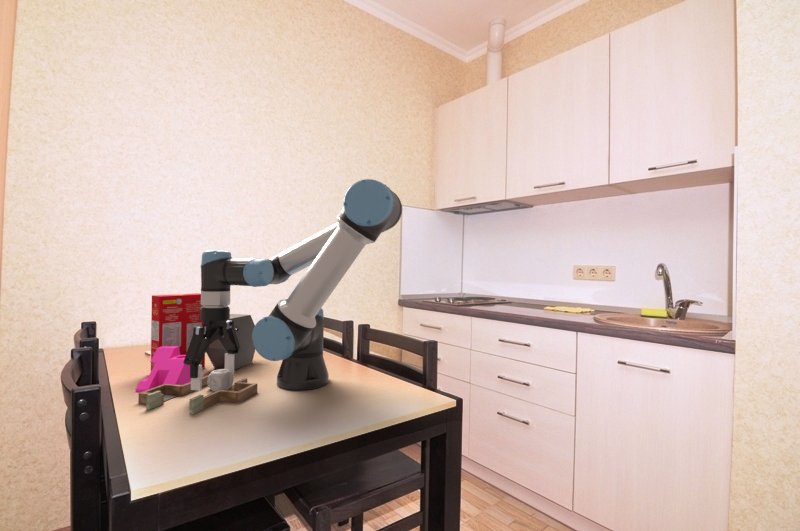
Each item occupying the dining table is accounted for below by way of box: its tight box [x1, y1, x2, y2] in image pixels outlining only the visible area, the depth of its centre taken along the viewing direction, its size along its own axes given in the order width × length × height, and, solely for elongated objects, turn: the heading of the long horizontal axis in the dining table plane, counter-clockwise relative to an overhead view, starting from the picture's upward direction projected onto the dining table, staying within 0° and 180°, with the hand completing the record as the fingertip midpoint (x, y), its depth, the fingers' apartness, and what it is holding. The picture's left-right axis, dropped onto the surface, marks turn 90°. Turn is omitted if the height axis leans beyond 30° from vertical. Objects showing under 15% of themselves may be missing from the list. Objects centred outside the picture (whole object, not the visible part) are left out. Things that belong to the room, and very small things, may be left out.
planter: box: [205, 313, 256, 371], centre depth 140 cm, size 17×8×21 cm
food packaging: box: [150, 292, 206, 372], centre depth 133 cm, size 15×5×25 cm, turn 145°
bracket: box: [135, 346, 191, 393], centre depth 117 cm, size 12×10×10 cm
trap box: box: [137, 374, 258, 415], centre depth 107 cm, size 24×22×4 cm
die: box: [207, 369, 235, 392], centre depth 115 cm, size 5×5×5 cm
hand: (213, 382), depth 112 cm, fingers open, 13 cm apart
